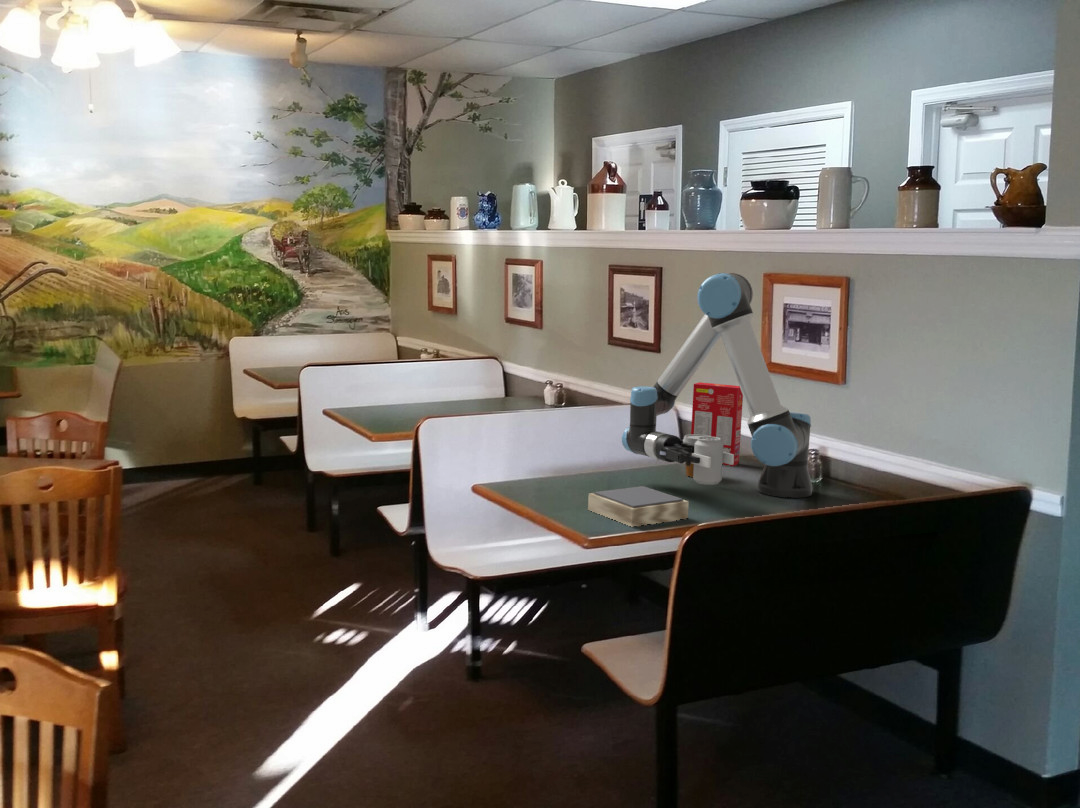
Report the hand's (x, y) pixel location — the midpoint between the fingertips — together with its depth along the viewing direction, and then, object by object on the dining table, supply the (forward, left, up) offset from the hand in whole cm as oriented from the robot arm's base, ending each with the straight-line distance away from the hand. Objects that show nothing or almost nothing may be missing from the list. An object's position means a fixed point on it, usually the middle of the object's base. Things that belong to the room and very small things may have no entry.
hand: (721, 461), depth 273 cm
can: (+4, -2, -7) cm, 8 cm away
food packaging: (+20, -60, -13) cm, 65 cm away
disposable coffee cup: (+18, -36, -13) cm, 43 cm away
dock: (+16, +18, -13) cm, 27 cm away
